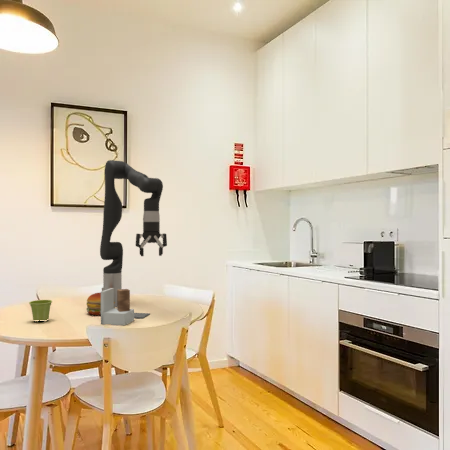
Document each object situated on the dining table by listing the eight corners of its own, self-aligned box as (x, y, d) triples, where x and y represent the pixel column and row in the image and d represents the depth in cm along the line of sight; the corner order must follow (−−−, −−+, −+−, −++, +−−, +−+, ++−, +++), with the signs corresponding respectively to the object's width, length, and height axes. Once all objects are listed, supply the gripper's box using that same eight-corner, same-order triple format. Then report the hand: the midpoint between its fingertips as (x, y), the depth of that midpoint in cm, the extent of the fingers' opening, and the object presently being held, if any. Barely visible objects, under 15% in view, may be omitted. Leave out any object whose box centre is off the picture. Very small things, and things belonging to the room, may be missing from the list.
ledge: (100, 324, 192) (100, 291, 192) (111, 319, 202) (111, 288, 201) (124, 325, 190) (124, 292, 189) (134, 320, 199) (134, 288, 199)
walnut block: (119, 311, 194) (119, 290, 194) (117, 309, 198) (117, 289, 198) (129, 310, 196) (129, 290, 195) (127, 309, 200) (127, 288, 200)
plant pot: (38, 324, 191) (38, 304, 191) (24, 321, 196) (24, 302, 196) (56, 320, 199) (56, 301, 199) (43, 318, 204) (43, 299, 204)
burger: (84, 312, 218) (84, 291, 218) (112, 309, 223) (112, 289, 223) (87, 317, 206) (87, 295, 205) (117, 315, 211) (117, 293, 211)
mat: (124, 317, 205) (124, 316, 205) (131, 313, 213) (132, 312, 213) (142, 318, 203) (142, 317, 203) (149, 314, 212) (149, 313, 212)
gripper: (138, 221, 201) (138, 257, 201) (168, 221, 207) (168, 256, 207) (134, 220, 208) (134, 255, 208) (163, 221, 214) (163, 255, 214)
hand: (151, 255), depth 208 cm, fingers open, 8 cm apart
